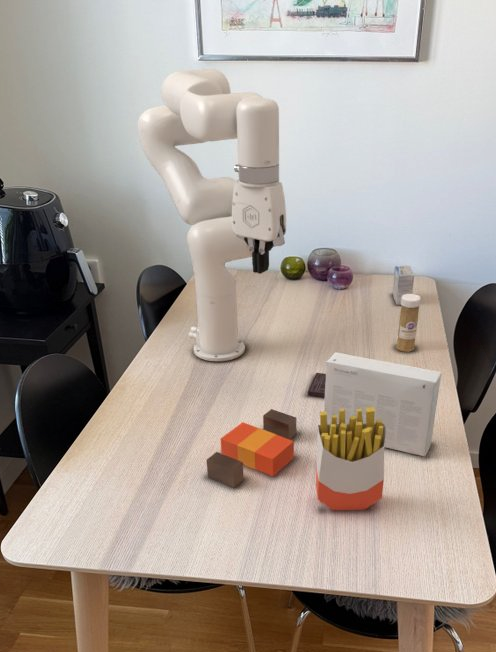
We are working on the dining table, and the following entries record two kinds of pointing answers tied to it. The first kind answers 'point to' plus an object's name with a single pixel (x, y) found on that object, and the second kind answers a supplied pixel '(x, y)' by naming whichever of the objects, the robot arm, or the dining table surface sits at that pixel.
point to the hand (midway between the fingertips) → (260, 270)
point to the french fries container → (350, 461)
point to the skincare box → (385, 398)
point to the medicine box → (402, 282)
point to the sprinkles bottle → (408, 322)
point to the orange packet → (258, 448)
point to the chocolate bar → (318, 385)
